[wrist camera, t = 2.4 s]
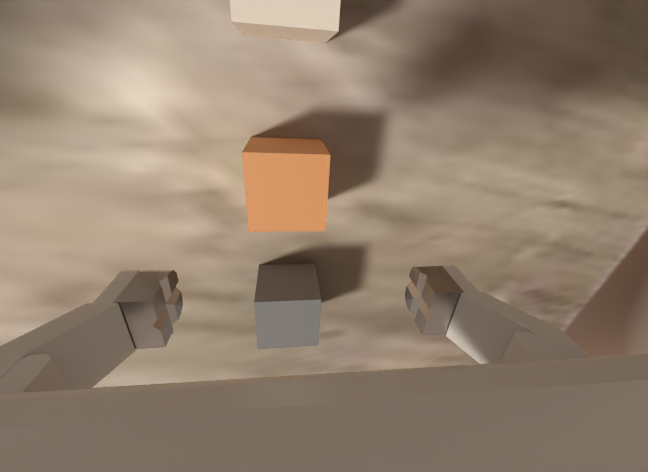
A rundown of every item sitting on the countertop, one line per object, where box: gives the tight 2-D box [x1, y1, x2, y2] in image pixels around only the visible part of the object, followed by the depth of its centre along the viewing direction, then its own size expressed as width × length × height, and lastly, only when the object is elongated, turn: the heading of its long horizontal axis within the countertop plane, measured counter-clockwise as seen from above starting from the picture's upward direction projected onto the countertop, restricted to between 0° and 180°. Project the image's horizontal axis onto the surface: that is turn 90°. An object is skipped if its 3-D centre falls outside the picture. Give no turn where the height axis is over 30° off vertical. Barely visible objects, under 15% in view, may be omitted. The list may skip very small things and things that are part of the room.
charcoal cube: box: [254, 264, 321, 349], centre depth 25 cm, size 5×5×5 cm
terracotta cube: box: [242, 137, 331, 232], centre depth 20 cm, size 5×5×5 cm
